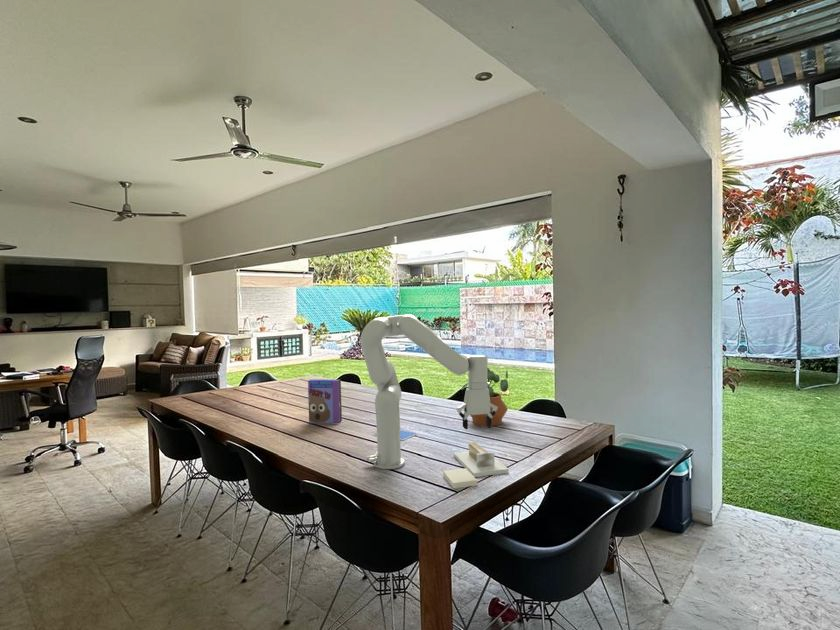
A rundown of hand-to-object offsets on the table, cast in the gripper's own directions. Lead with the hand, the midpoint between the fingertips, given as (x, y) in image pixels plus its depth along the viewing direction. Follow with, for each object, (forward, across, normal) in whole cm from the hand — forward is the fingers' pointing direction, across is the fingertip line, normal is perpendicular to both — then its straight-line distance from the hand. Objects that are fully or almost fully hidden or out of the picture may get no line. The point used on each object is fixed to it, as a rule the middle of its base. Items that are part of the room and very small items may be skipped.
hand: (476, 427), depth 180 cm
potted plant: (+15, -26, -56) cm, 63 cm away
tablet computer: (+17, +24, -51) cm, 58 cm away
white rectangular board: (+15, -1, 0) cm, 15 cm away
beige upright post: (+13, -1, 0) cm, 13 cm away
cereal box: (+18, +57, -87) cm, 105 cm away
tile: (+14, +12, +8) cm, 20 cm away
